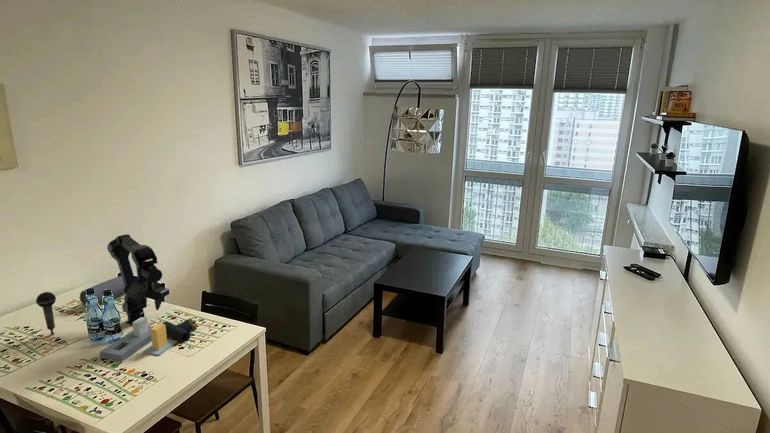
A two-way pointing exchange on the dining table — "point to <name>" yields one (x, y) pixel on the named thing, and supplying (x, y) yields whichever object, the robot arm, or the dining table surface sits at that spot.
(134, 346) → the header
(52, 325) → the microphone
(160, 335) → the tan rectangular block
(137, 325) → the grey plug
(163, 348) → the slate mat
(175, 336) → the pipe connector
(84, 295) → the bluetooth speaker
